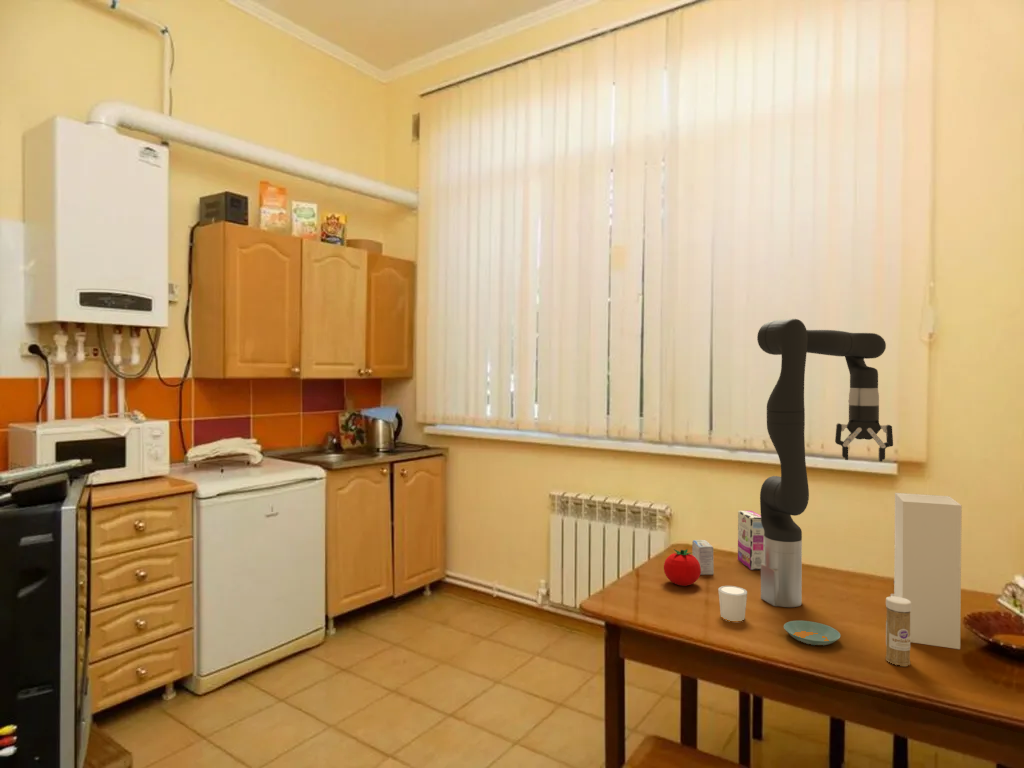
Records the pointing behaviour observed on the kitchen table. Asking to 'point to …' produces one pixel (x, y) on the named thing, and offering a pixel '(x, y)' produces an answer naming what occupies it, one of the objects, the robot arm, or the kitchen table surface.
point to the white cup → (732, 602)
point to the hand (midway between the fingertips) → (863, 460)
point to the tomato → (682, 568)
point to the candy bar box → (750, 540)
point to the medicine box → (703, 556)
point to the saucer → (815, 628)
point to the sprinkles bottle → (898, 630)
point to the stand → (929, 566)
